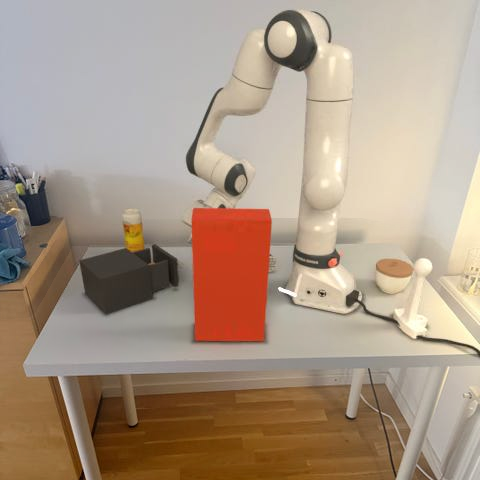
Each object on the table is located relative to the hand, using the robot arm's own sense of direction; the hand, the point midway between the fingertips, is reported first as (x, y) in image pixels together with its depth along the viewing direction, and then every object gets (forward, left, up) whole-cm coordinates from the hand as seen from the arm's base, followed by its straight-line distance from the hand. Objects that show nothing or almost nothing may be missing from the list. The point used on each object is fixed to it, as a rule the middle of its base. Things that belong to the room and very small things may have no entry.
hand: (191, 244), depth 142 cm
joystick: (-67, -8, -10) cm, 69 cm away
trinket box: (-56, -25, -10) cm, 62 cm away
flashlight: (-14, -18, -10) cm, 25 cm away
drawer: (+4, +13, -9) cm, 16 cm away
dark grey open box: (+9, +24, -10) cm, 27 cm away
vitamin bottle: (+24, 0, -10) cm, 26 cm away
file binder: (-28, +22, -10) cm, 37 cm away
